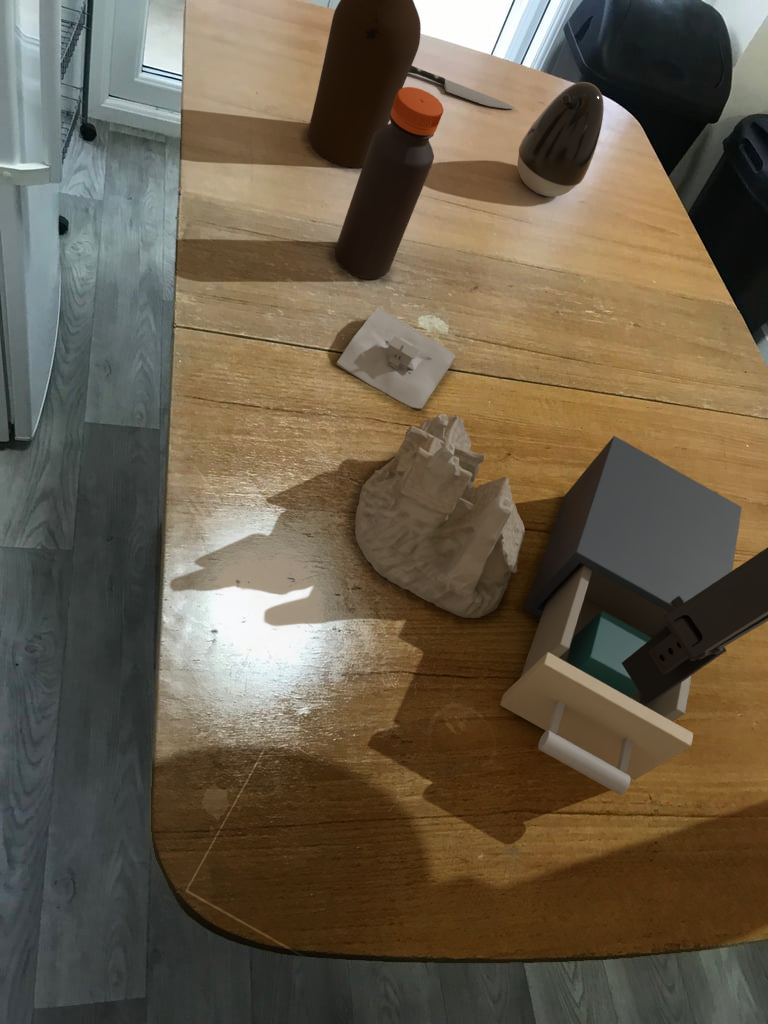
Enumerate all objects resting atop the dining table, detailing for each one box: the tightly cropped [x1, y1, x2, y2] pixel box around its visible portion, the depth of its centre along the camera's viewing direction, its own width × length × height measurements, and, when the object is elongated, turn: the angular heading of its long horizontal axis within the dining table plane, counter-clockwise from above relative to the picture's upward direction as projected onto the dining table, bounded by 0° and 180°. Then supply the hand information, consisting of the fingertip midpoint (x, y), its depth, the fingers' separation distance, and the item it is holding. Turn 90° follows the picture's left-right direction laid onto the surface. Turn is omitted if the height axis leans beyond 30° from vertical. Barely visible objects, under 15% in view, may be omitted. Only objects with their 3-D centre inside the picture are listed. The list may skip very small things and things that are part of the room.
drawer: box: [499, 563, 694, 796], centre depth 69 cm, size 19×13×8 cm, turn 157°
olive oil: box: [307, 0, 422, 169], centre depth 102 cm, size 11×11×25 cm
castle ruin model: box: [354, 413, 526, 619], centre depth 73 cm, size 16×16×15 cm
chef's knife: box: [408, 65, 516, 110], centre depth 130 cm, size 19×1×3 cm
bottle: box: [334, 86, 444, 280], centre depth 91 cm, size 7×7×20 cm
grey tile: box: [336, 306, 457, 411], centre depth 88 cm, size 12×11×4 cm
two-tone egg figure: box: [517, 81, 605, 198], centre depth 116 cm, size 10×10×15 cm
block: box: [567, 611, 652, 698], centre depth 70 cm, size 5×5×5 cm
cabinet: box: [523, 435, 743, 619], centre depth 78 cm, size 16×14×10 cm
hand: (713, 648), depth 52 cm, fingers open, 13 cm apart
